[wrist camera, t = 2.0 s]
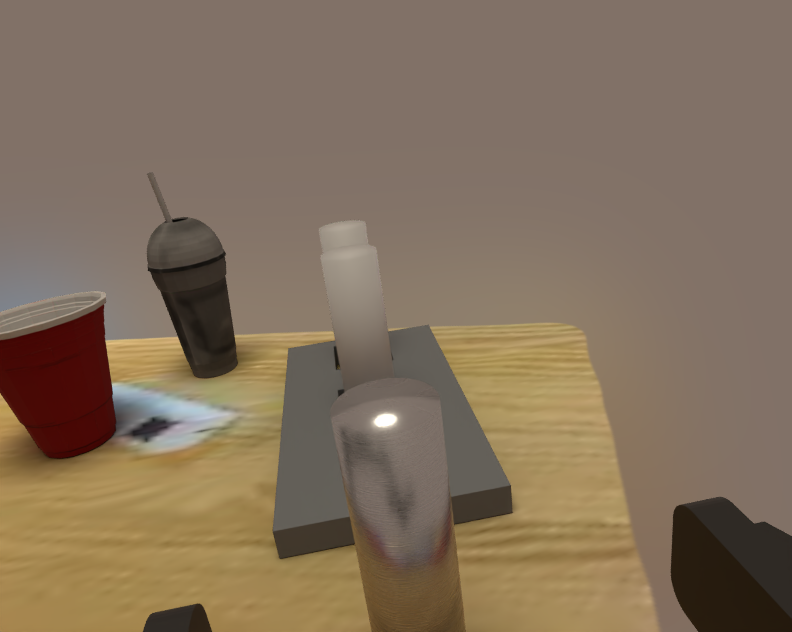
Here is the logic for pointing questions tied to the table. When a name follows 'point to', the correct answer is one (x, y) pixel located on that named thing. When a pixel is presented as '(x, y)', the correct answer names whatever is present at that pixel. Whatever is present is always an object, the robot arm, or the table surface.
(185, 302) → the beverage cup
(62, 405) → the plastic cup
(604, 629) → the table surface
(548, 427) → the table surface
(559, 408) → the table surface
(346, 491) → the steel pin
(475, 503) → the pin board
